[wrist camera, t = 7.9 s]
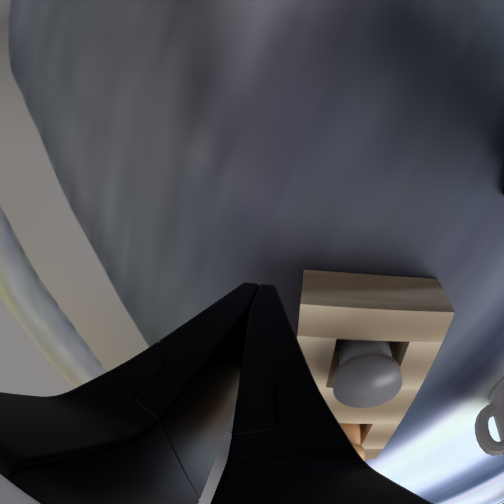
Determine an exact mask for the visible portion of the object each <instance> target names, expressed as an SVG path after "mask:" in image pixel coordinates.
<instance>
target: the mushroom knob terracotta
mask: <svg viewBox="0 0 504 504" xmlns="http://www.w3.org/2000/svg"><path fill="white" fill-rule="evenodd" d="M339 424H340V426H341V427H342V429H343V431H344V432H345V434H346V435H347V437H348V438H349V440H350V442H351V443H352V445H353V446H354V448H355V449H356V451H357V452H358V454H359V455H360V456H361V458H362V459H363V460H364V461H365V449H364V448H363V447H362V446H361V445H360V424H349V423H339Z"/></svg>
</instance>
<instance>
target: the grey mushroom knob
mask: <svg viewBox="0 0 504 504" xmlns="http://www.w3.org/2000/svg"><path fill="white" fill-rule="evenodd" d="M338 342H339V367H338V368H337V370H336V371H335V373H334V377H333V393H334V396H335V398H336V399H337V400H338V401H339V402H340V403H342V404H344V405H346V406H349V407H354V408H369V407H374V406H378V405H381V404H383V403H385V402H387V401H389V400H391V399H392V398H393V397H395V396H396V395H397V394H398V392H399V391H400V389H401V387H402V383H403V380H402V375H401V370H400V366H399V364H398V362H397V361H396V360H395V359H394V358H392V354H391V349H390V344H389V341H371V340H351V339H338Z"/></svg>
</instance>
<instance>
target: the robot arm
mask: <svg viewBox="0 0 504 504" xmlns="http://www.w3.org/2000/svg"><path fill="white" fill-rule="evenodd" d="M503 194H504V190H503ZM235 404H236V408H235V415H234V422H233V429H232V439H231V444H230V450H229V455H228V459H227V462H226V465H225V468H224V471H223V473H222V476H221V479H220V481H219V483H218V486H217V489H216V491H215V494H214V496H213V499H212V501H211V504H433V503H431V502H429V501H427V500H426V499H424V498H422V497H420V496H418V495H416V494H414V493H413V492H411V491H409V490H407V489H405V488H404V487H402V486H400V485H398V484H397V483H395V482H393V481H391V480H390V479H388V478H386V477H385V476H383V475H381V474H380V473H378V472H376V471H375V470H374V469H372V468H371V467H370V466H369V465H368V464H367V463H366V462H365V461H364V460H363V459H362V458H361V456H360V455H359V454H358V452H357V451H356V449H355V448H354V446H353V445H352V443H351V442H350V440H349V438H348V437H347V435H346V434H345V432H344V431H343V429H342V427H341V426H340V424H339V423H338V421H337V419H336V418H335V416H334V415H333V413H332V411H331V410H330V408H329V406H328V405H327V403H326V401H325V399H324V398H323V396H322V394H321V392H320V391H319V389H318V386H317V384H316V382H315V380H314V378H313V376H312V373H311V371H310V369H309V366H308V364H307V362H306V359H305V357H304V354H303V352H302V350H301V347H300V345H299V342H298V340H297V337H296V335H295V333H294V330H293V328H292V325H291V323H290V320H289V318H288V316H287V313H286V311H285V308H284V306H283V304H282V301H281V299H280V296H279V294H278V292H277V289H276V287H275V286H274V285H266V284H261V285H260V286H259V285H258V284H255V283H243V284H241V285H240V286H238V287H237V288H236V289H234V290H233V291H231V292H230V293H228V294H227V295H226V296H224V297H223V298H221V299H220V300H218V301H217V302H215V303H214V304H212V305H211V306H210V307H208V308H207V309H205V310H204V311H202V312H201V313H199V314H198V315H196V316H195V317H194V318H192V319H191V320H189V321H188V322H186V323H185V324H183V325H182V326H180V327H179V328H177V329H176V330H175V331H173V332H172V333H170V334H169V335H167V336H166V337H164V338H163V339H161V340H160V341H159V343H158V342H157V343H155V344H154V345H152V346H151V347H149V348H148V349H146V350H145V351H143V352H141V353H140V354H138V355H137V356H135V357H133V358H132V359H130V360H128V361H127V362H125V363H123V364H121V365H119V366H118V367H116V368H114V369H113V370H111V371H108V372H106V373H105V374H103V375H101V376H99V377H97V378H95V379H93V380H91V381H89V382H87V383H85V384H83V385H81V386H79V387H77V388H75V389H73V390H71V391H69V392H67V393H64V394H61V395H57V396H49V397H39V396H28V395H18V394H9V393H2V392H0V504H198V502H199V498H200V497H201V494H202V492H203V489H204V486H205V484H206V482H207V479H208V476H209V474H210V471H211V469H212V466H213V463H214V461H215V458H216V455H217V453H218V450H219V447H220V445H221V442H222V439H223V437H224V434H225V431H226V429H227V426H228V423H229V420H230V418H231V415H232V412H233V409H234V407H235Z"/></svg>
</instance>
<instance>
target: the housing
mask: <svg viewBox="0 0 504 504" xmlns="http://www.w3.org/2000/svg"><path fill="white" fill-rule="evenodd" d="M454 313H455V311H454V309H453V307H452V305H451V303H450V302H449V300H448V298H447V296H446V294H445V292H444V290H443V288H442V286H441V284H440V283H439V281H438V279H432V278H416V277H401V276H386V275H372V274H358V273H344V272H330V271H317V270H304V272H303V283H302V293H301V302H300V313H299V324H298V334H297V340H298V342H299V345H300V347H301V350H302V352H303V354H304V357H305V359H306V362H307V364H308V366H309V369H310V371H311V373H312V376H313V378H314V380H315V382H316V384H317V386H318V389H319V391H320V392H321V394H322V396H323V398H324V399H325V401H326V403H327V405H328V406H329V408H330V410H331V411H332V413H333V415H334V416H335V418H336V419H337V421H338V423H349V424H360V445H361V446H362V447H363V448H364V449H365V459H376V458H377V457H378V455H379V454H380V452H381V451H382V449H383V448H384V446H385V445H386V443H387V442H388V440H389V439H390V437H391V436H392V434H393V433H394V431H395V430H396V428H397V426H398V425H399V423H400V422H401V420H402V418H403V417H404V415H405V413H406V412H407V410H408V408H409V407H410V405H411V403H412V401H413V400H414V398H415V396H416V394H417V392H418V391H419V389H420V387H421V385H422V383H423V381H424V379H425V377H426V375H427V373H428V371H429V369H430V367H431V365H432V363H433V361H434V359H435V357H436V355H437V353H438V351H439V348H440V346H441V344H442V342H443V340H444V337H445V335H446V333H447V330H448V328H449V326H450V323H451V321H452V318H453V316H454ZM336 339H351V340H371V341H389V344H390V349H391V354H392V358H394V359H395V360H396V361H397V362H398V364H399V366H400V370H401V375H402V380H403V383H402V387H401V389H400V391H399V392H398V394H397V395H396V396H395V397H393V398H392V399H391V400H389V401H387V402H385V403H383V404H381V405H378V406H374V407H369V408H354V407H349V406H346V405H344V404H342V403H340V402H339V401H338V400H337V399H336V398H335V396H334V393H333V377H334V373H335V371H336V370H337V368H338V367H339V351H334V349H335V344H336Z"/></svg>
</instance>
